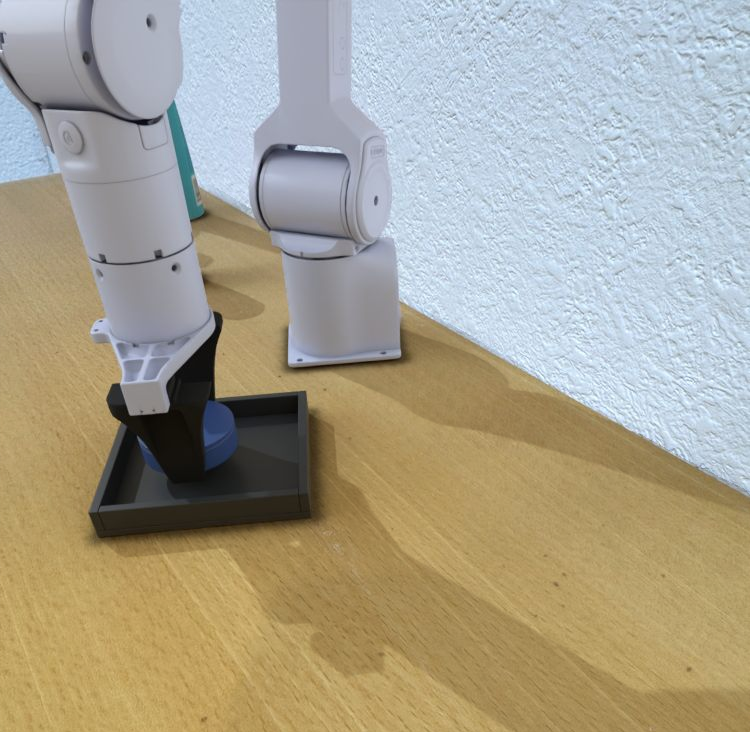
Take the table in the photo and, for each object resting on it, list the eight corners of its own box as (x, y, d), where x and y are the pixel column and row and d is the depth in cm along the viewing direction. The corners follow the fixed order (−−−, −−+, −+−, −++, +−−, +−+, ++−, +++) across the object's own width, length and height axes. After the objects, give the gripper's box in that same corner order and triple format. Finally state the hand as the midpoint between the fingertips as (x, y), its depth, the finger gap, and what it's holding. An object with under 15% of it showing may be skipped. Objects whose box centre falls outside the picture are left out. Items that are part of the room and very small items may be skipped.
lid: (134, 479, 44) (126, 456, 43) (152, 425, 49) (145, 403, 48) (234, 471, 44) (229, 448, 43) (241, 418, 49) (237, 396, 48)
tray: (309, 412, 53) (306, 390, 51) (311, 517, 43) (308, 492, 42) (133, 428, 52) (126, 405, 51) (97, 537, 43) (87, 513, 41)
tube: (159, 212, 93) (119, 41, 81) (194, 205, 95) (159, 37, 82) (178, 227, 88) (137, 47, 76) (213, 219, 90) (180, 42, 77)
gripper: (96, 209, 43) (151, 397, 52) (26, 307, 32) (111, 525, 41) (209, 200, 44) (246, 389, 52) (180, 294, 32) (232, 514, 41)
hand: (194, 448), depth 47 cm, fingers closed on lid, 6 cm apart
